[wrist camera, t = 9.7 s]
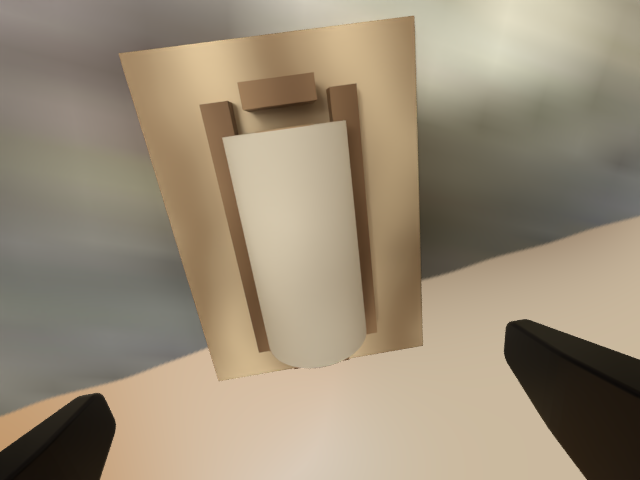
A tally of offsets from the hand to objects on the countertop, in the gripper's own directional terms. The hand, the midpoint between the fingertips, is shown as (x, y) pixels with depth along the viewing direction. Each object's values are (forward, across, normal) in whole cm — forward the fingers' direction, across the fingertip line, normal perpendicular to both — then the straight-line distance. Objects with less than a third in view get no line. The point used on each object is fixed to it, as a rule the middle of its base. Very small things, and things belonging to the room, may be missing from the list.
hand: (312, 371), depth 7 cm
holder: (+12, 0, 0) cm, 12 cm away
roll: (+11, 0, 0) cm, 11 cm away
